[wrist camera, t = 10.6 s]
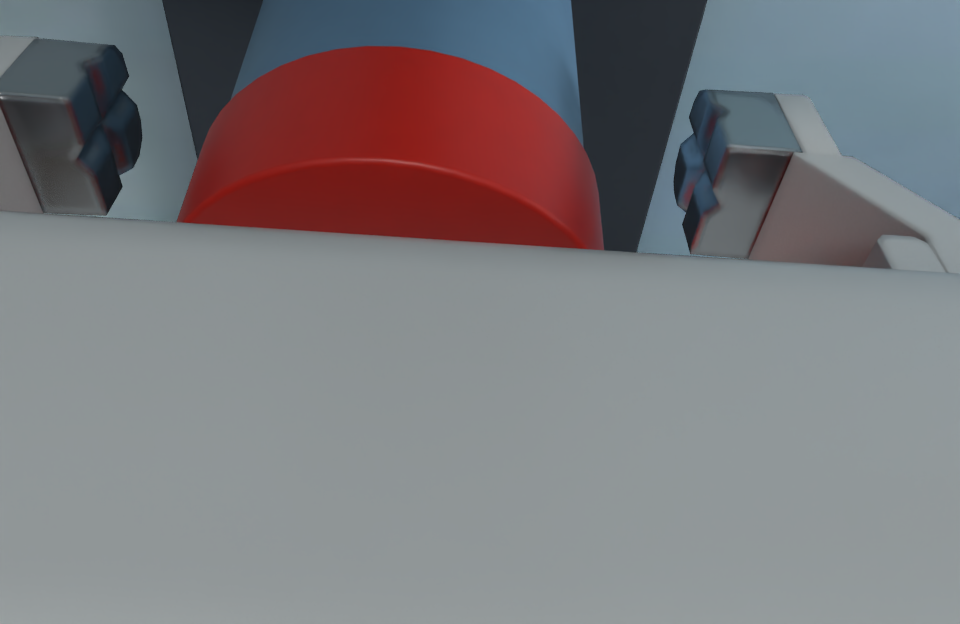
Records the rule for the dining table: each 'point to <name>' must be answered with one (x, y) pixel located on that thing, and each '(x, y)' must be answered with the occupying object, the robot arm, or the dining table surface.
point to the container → (405, 125)
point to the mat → (600, 69)
